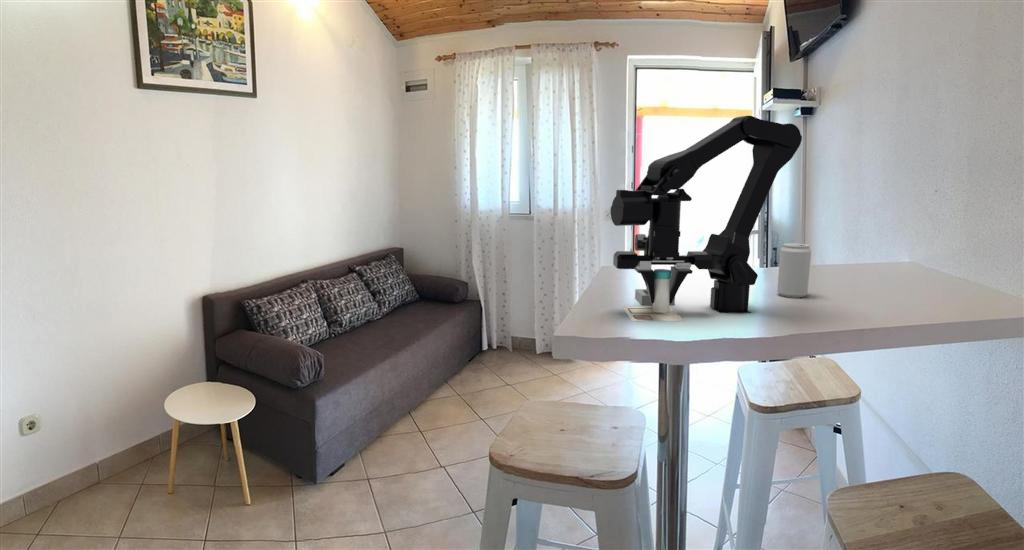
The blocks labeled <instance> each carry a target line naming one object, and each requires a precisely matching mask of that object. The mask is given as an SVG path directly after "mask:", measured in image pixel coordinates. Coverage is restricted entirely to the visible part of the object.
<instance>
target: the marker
mask: <svg viewBox="0 0 1024 550" xmlns="http://www.w3.org/2000/svg"><path fill="white" fill-rule="evenodd" d="M653 271H654V294H655V297H654V303H653V305H652V307H653V310H652V311H654V312H657V313H667V312H669V307H670V305H669V301H670V280H671V269H668V268H667V269H666V268H657V269H654V270H653Z"/></svg>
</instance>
